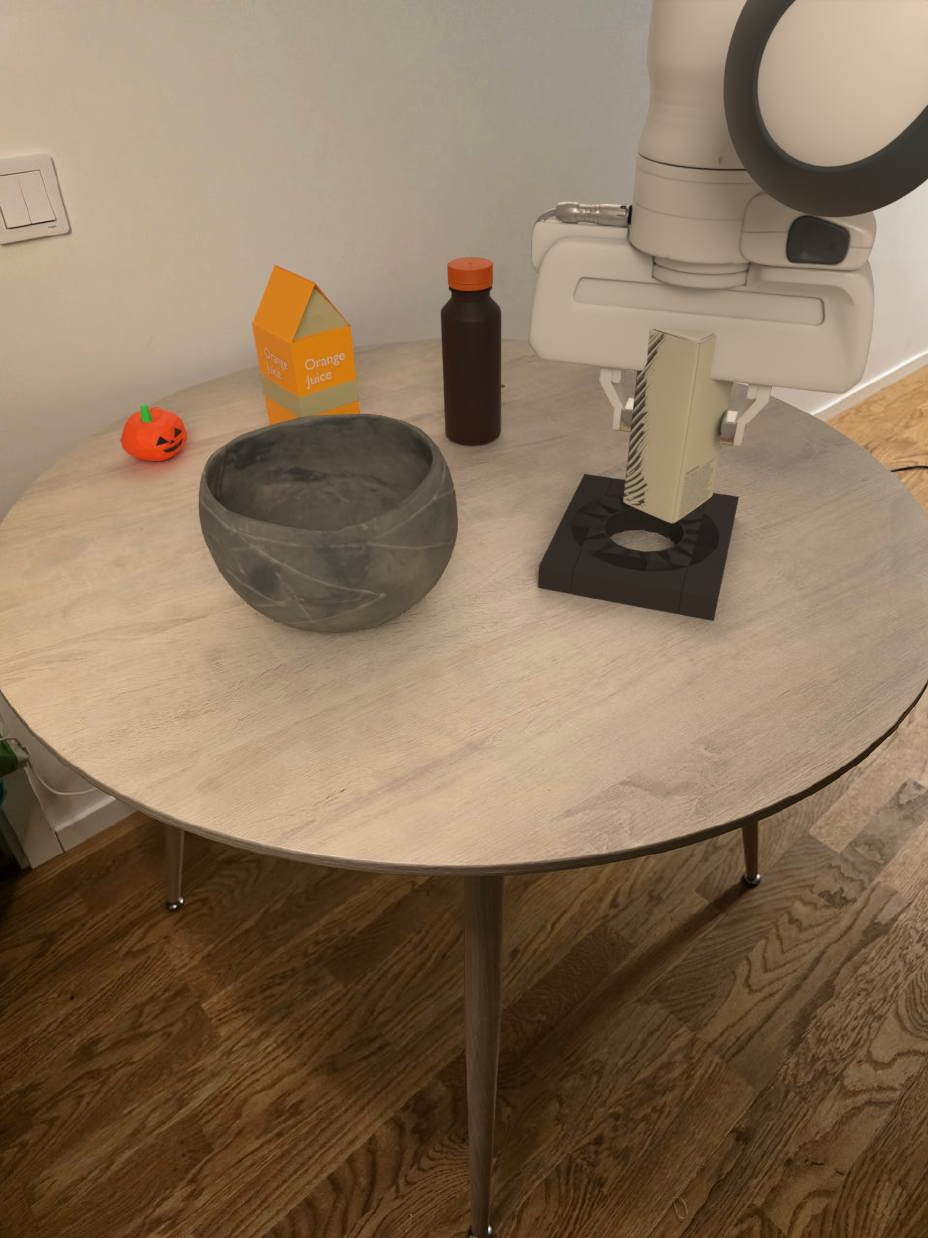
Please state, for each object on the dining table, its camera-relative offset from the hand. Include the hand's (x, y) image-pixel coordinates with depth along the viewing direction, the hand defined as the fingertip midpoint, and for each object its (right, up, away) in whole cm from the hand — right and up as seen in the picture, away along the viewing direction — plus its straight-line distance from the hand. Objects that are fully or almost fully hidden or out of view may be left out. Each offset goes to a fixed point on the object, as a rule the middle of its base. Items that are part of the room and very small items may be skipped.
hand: (677, 435), depth 57 cm
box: (0, -4, +3) cm, 5 cm away
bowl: (-25, -11, +22) cm, 35 cm away
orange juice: (-32, +9, +47) cm, 57 cm away
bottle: (-13, +10, +48) cm, 51 cm away
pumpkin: (-50, +7, +46) cm, 68 cm away
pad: (+3, -5, +27) cm, 28 cm away
